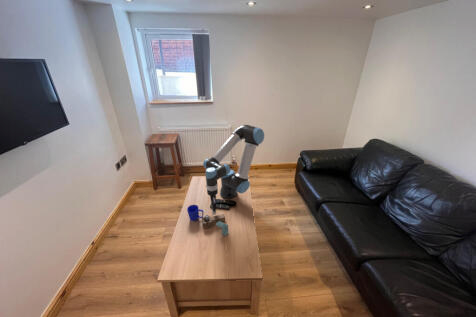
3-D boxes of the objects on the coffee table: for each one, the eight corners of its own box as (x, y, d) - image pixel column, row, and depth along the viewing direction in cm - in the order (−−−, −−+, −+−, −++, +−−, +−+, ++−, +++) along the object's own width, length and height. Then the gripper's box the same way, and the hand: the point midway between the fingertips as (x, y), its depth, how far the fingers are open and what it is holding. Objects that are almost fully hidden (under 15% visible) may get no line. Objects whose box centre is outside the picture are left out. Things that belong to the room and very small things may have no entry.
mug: (202, 223, 142) (200, 213, 138) (187, 221, 145) (185, 211, 140) (206, 215, 149) (204, 206, 145) (191, 213, 152) (189, 203, 147)
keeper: (219, 228, 138) (218, 220, 135) (228, 232, 135) (228, 225, 131) (216, 231, 136) (215, 223, 132) (225, 236, 132) (225, 228, 129)
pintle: (207, 223, 143) (206, 214, 139) (209, 224, 142) (208, 216, 138) (205, 224, 141) (204, 216, 138) (207, 225, 140) (206, 217, 137)
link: (223, 217, 148) (223, 212, 145) (225, 223, 142) (225, 218, 140) (202, 222, 143) (201, 217, 141) (203, 228, 138) (202, 223, 136)
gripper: (205, 184, 140) (208, 209, 151) (208, 195, 129) (211, 220, 140) (215, 182, 142) (217, 207, 153) (219, 192, 131) (221, 218, 142)
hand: (214, 213), depth 147 cm, fingers closed
